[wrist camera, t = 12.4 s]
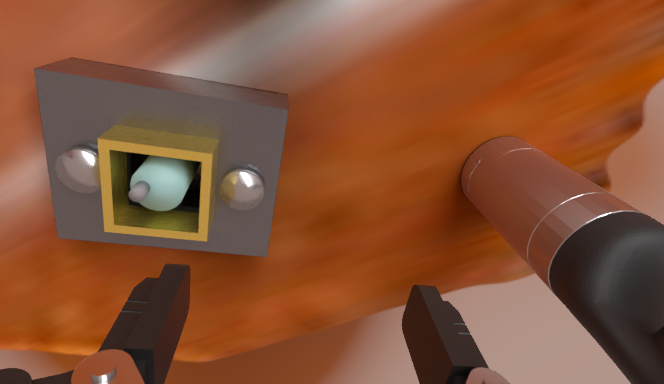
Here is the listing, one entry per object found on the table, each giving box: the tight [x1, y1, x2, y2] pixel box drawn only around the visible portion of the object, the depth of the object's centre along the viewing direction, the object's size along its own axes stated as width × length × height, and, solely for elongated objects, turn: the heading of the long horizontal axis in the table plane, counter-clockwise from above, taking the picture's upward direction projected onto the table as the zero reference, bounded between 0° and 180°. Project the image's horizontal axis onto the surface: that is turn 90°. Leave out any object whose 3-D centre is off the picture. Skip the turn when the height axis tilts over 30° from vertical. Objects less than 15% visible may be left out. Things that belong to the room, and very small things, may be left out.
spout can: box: [128, 155, 201, 211], centre depth 36 cm, size 4×4×10 cm
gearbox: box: [34, 58, 288, 257], centre depth 36 cm, size 20×16×10 cm
